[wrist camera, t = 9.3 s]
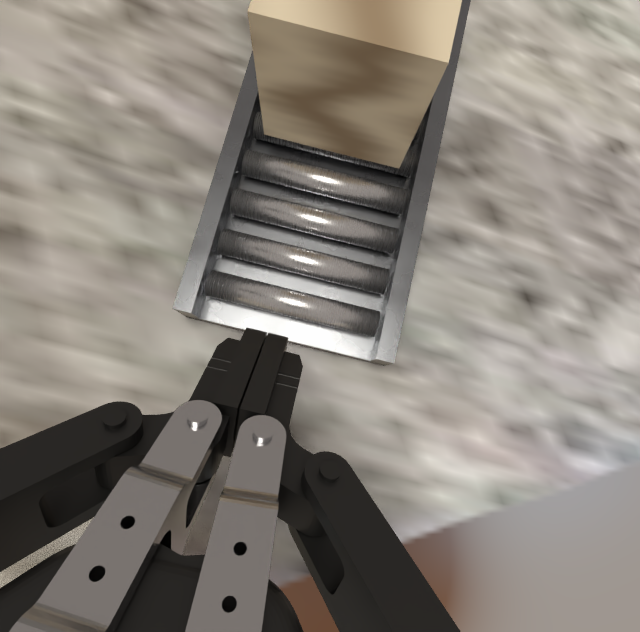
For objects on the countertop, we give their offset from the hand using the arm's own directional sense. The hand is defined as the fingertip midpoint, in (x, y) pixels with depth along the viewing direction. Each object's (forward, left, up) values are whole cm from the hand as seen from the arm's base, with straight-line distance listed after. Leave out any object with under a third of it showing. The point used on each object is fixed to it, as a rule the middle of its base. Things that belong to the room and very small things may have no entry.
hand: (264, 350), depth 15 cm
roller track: (0, +13, -10) cm, 17 cm away
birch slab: (0, +17, -7) cm, 19 cm away
